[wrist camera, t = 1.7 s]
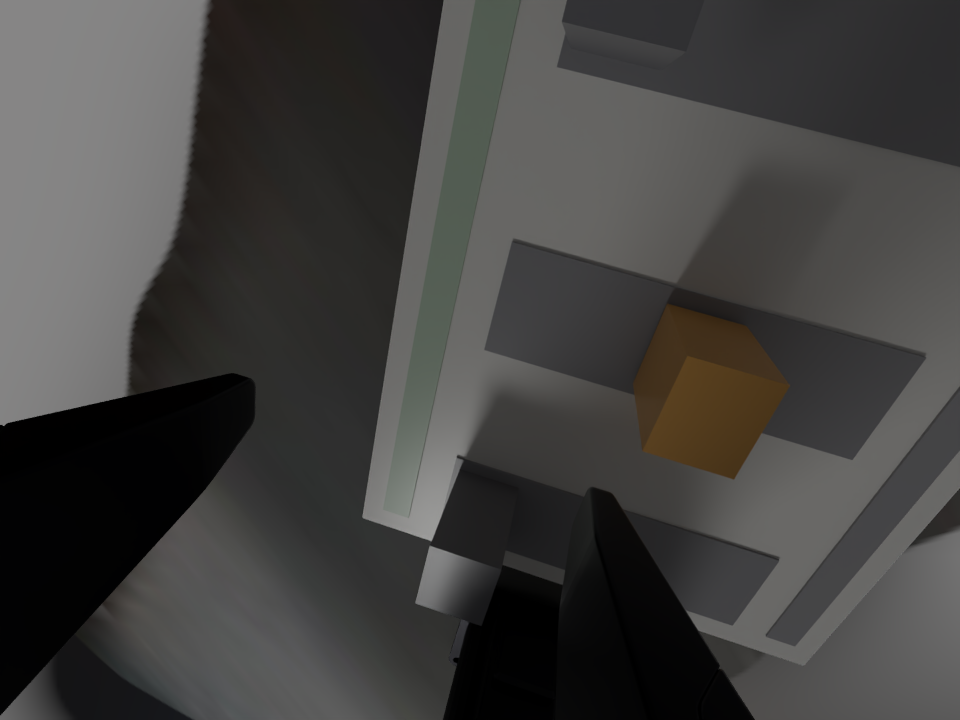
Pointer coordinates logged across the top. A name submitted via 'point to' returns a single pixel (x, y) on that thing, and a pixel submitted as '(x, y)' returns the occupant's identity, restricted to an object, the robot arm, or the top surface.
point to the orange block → (705, 391)
